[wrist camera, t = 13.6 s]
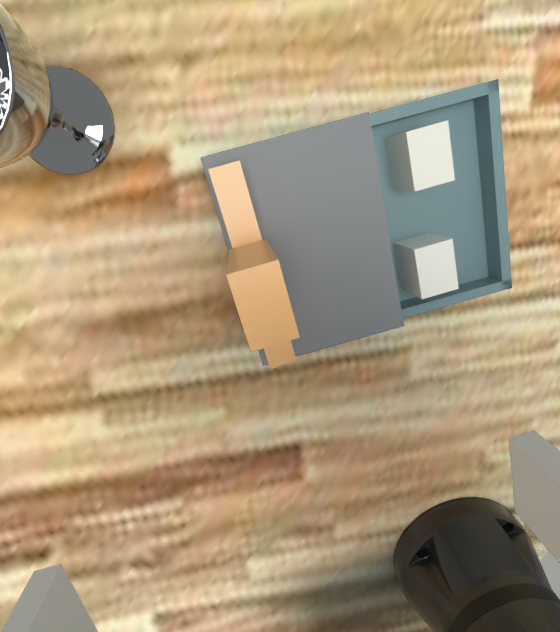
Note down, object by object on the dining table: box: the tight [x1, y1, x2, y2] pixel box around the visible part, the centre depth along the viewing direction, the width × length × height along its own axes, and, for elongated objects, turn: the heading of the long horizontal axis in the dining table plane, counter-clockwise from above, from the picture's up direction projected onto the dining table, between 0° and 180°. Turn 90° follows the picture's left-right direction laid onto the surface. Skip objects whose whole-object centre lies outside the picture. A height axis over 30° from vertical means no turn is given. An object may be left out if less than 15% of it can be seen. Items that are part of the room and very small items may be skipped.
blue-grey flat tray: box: [369, 79, 512, 318], centre depth 32 cm, size 16×10×2 cm, turn 14°
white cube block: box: [394, 233, 459, 299], centre depth 32 cm, size 4×4×3 cm
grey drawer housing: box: [201, 112, 404, 366], centre depth 31 cm, size 16×12×4 cm
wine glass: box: [0, 4, 115, 174], centre depth 22 cm, size 8×8×15 cm
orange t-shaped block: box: [208, 160, 300, 369], centre depth 24 cm, size 14×2×11 cm, turn 15°
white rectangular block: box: [385, 120, 455, 192], centre depth 29 cm, size 4×4×3 cm
